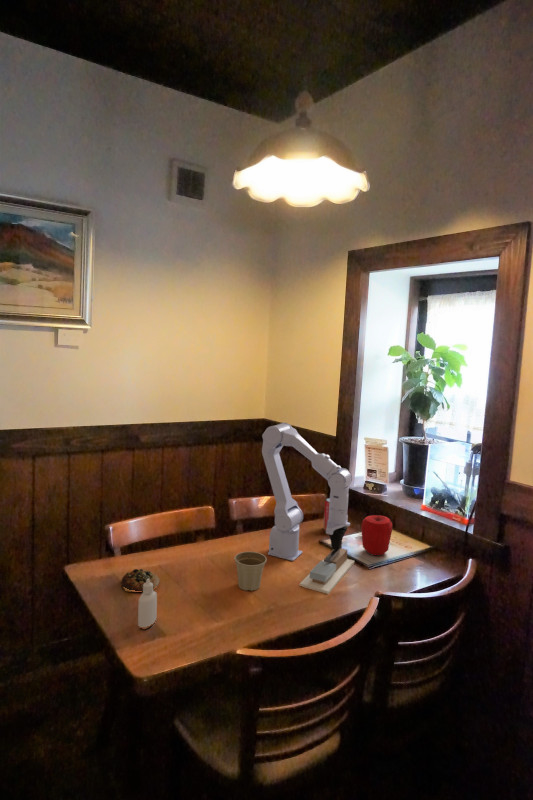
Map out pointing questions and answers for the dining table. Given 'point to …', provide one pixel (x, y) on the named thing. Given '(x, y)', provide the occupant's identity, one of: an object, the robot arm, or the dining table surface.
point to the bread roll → (138, 579)
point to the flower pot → (250, 569)
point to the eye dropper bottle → (147, 605)
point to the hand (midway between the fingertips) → (335, 548)
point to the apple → (376, 534)
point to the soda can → (326, 513)
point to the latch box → (341, 570)
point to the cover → (323, 571)
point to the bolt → (333, 554)
